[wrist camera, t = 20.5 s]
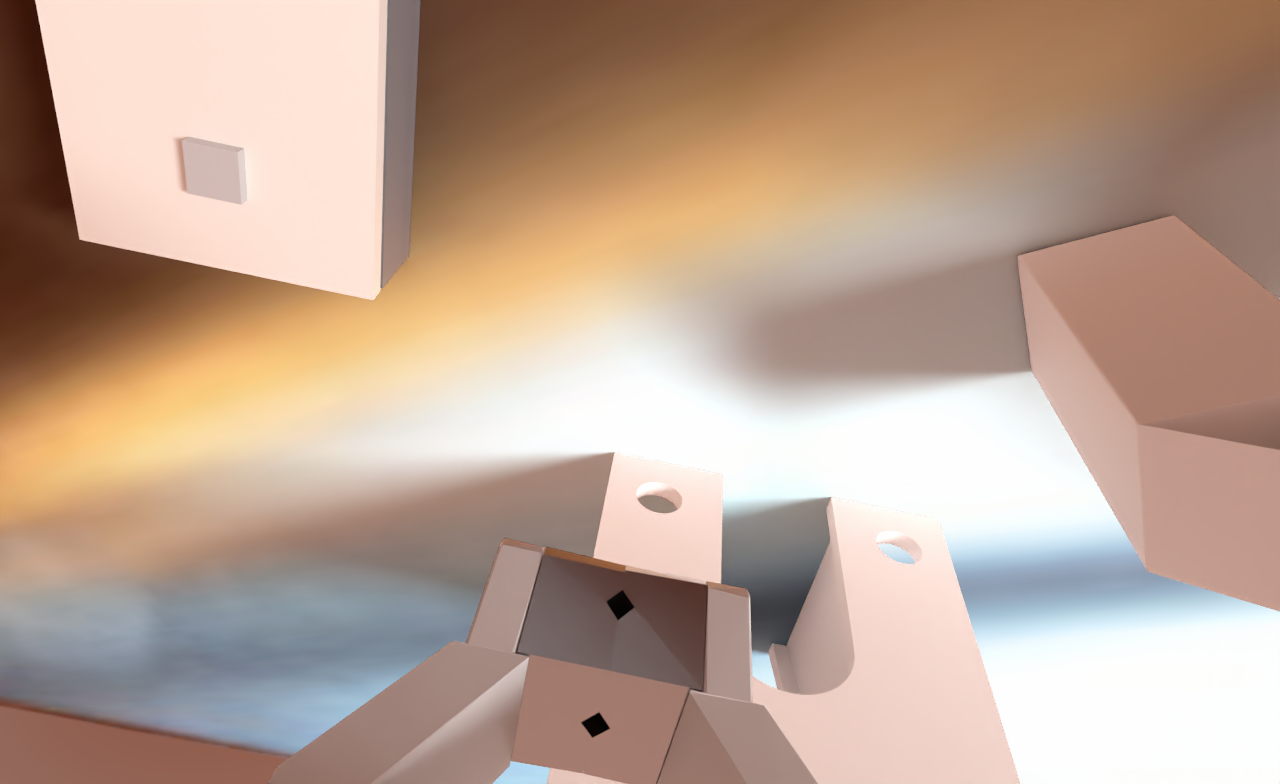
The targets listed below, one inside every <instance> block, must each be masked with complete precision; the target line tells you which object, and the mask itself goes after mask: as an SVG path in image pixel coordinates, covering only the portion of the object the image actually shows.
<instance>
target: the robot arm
mask: <svg viewBox="0 0 1280 784" xmlns="http://www.w3.org/2000/svg"><path fill="white" fill-rule="evenodd" d="M510 761H514V762H520V763H526V764H532V765H537V766H543V767H549V768H554V769H560V770H566V771H571V772H577V773H583V774H587V775H591V776H595V777H600V778H604V779H608V780H613V781H617V782H621V783H625V784H818V783H817V782H816V780H815V779H814V777H813V776H812V774H811V773H810V771H809V770H808V768H807V767H806V765H805V764H804V762H803V761H802V759H801V758H800V756H799V755H798V753H797V752H796V750H795V749H794V747H793V746H792V744H791V743H790V742H789V740H788V739H787V737H786V736H785V734H784V733H783V731H782V730H781V728H780V727H779V725H778V724H777V722H776V721H775V719H774V718H773V716H772V715H771V713H770V712H769V710H768V709H767V707H766V706H764V705H760V704H756V703H753V691H752V651H751V611H750V595H749V593H748V591H747V589H745V588H739V587H734V586H729V585H724V584H719V583H714V582H709V581H706V582H704V581H703V580H698V579H693V578H688V577H683V576H678V575H673V574H668V573H663V572H658V571H653V570H648V569H643V568H638V567H633V566H628V565H621V564H617V563H613V562H609V561H605V560H600V559H596V558H592V557H588V556H583V555H579V554H575V553H571V552H566V551H562V550H558V549H554V548H549V547H546V549H545V547H541V546H537V545H532V544H528V543H524V542H520V541H516V540H512V539H508V538H504V540H503V541H502V543H501V544H500V546H499V548H498V551H497V553H496V556H495V559H494V562H493V565H492V568H491V571H490V574H489V577H488V579H487V582H486V585H485V588H484V591H483V594H482V597H481V600H480V603H479V605H478V608H477V611H476V614H475V617H474V620H473V623H472V626H471V629H470V631H469V634H468V637H467V640H466V643H462V642H456V641H452V642H450V643H449V644H448V645H446V646H445V647H444V648H442V649H441V650H439V651H438V652H437V653H435V654H434V655H432V656H431V657H430V658H428V659H427V660H425V661H424V662H423V663H421V664H420V665H418V666H417V667H416V668H414V669H413V670H411V671H410V672H409V673H407V674H406V675H404V676H403V677H402V678H400V679H399V680H397V681H396V682H395V683H393V684H392V685H391V686H389V687H388V688H386V689H385V690H384V691H382V692H381V693H379V694H378V695H377V696H375V697H374V698H372V699H371V700H370V701H368V702H367V703H365V704H364V705H363V706H361V707H360V708H358V709H357V710H356V711H354V712H353V713H351V714H350V715H349V716H347V717H346V718H345V719H343V720H342V721H340V722H339V723H338V724H336V725H335V726H333V727H332V728H331V729H329V730H328V731H326V732H325V733H324V734H322V735H321V736H319V737H318V738H317V739H315V740H314V741H312V742H311V743H310V744H308V745H307V746H305V747H304V748H303V749H301V750H300V751H298V752H297V753H296V754H294V755H293V756H292V757H290V758H289V759H287V760H286V761H285V762H283V763H282V764H280V765H279V766H278V767H276V769H275V771H274V773H273V775H272V777H271V779H270V781H269V783H268V784H492V783H493V782H494V781H495V780H496V779H497V778H498V777H499V776H500V775H501V774H502V773H503V772H504V771H505V770H506V769H507V768H508V767H509V766H510Z"/></svg>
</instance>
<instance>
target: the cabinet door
mask: <svg viewBox="0 0 1280 784" xmlns="http://www.w3.org/2000/svg"><path fill="white" fill-rule="evenodd" d="M35 2H36V7H37V12H38V18H39V23H40V29H41V34H42V39H43V45H44V50H45V55H46V61H47V66H48V72H49V77H50V82H51V88H52V93H53V99H54V104H55V109H56V115H57V120H58V125H59V131H60V136H61V142H62V147H63V152H64V158H65V163H66V168H67V174H68V179H69V185H70V190H71V195H72V201H73V206H74V212H75V217H76V222H77V228H78V233H79V238H80V240H84V241H89V242H94V243H99V244H103V245H108V246H113V247H118V248H123V249H128V250H132V251H137V252H142V253H147V254H152V255H157V256H162V257H166V258H171V259H176V260H181V261H186V262H191V263H195V264H200V265H205V266H210V267H215V268H220V269H225V270H229V271H234V272H239V273H244V274H249V275H254V276H258V277H263V278H268V279H273V280H278V281H283V282H287V283H292V284H297V285H302V286H307V287H312V288H317V289H321V290H326V291H331V292H336V293H341V294H346V295H350V296H355V297H360V298H365V299H370V300H374V299H375V297H376V296H377V295H378V293H379V292H380V281H381V242H382V202H383V163H384V124H385V84H386V45H387V6H388V0H35Z"/></svg>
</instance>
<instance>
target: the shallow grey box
mask: <svg viewBox="0 0 1280 784" xmlns="http://www.w3.org/2000/svg"><path fill="white" fill-rule="evenodd" d="M419 21H420V0H388V6H387V45H386V84H385V124H384V163H383V202H382V242H381V281H380V288H383V287H384V286H385V285H386V283H387V282H388V281H389V280H390V279H391V277H392V276H393V275H394V274H395V273H396V271H397V270H398V269H399V268H400V266H401V265H402V264H403V263H404V262H405V260H406V259H407V258H408V257H409V243H410V221H411V199H412V177H413V154H414V132H415V110H416V88H417V66H418V43H419Z"/></svg>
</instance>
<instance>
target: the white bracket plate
mask: <svg viewBox="0 0 1280 784" xmlns="http://www.w3.org/2000/svg"><path fill="white" fill-rule="evenodd" d="M646 495H656V496H660V497H664V498H666V499H668V500H669V501H671V502H672V503H673V504H674V505H675V506H676V507H677V510H676V511H675V512H671V513H657V512H653V511H651V510H649V509H647V508H645V507H644V506H643V505H641V503H640V502H639V501H638V498H640V497H642V496H646ZM722 510H723V474H719V473H714V472H709V471H704V470H700V469H695V468H690V467H685V466H680V465H675V464H671V463H666V462H661V461H656V460H651V459H647V458H642V457H637V456H632V455H627V454H622V453H618V452H614V457H613V462H612V467H611V472H610V477H609V481H608V486H607V491H606V496H605V501H604V506H603V511H602V516H601V521H600V526H599V531H598V535H597V540H596V545H595V550H594V555H593V558H596V559H600V560H605V561H609V562H613V563H617V564H621V565H628V566H633V567H638V568H643V569H648V570H653V571H658V572H663V573H668V574H673V575H678V576H683V577H688V578H693V579H698V580H703V581H704V582H706V581H709V582H714V583H719V584H721V561H722ZM826 511H827V518H828V525H829V533H830V540H831V541H830V543H829V545H828V548H827V550H826V552H825V555H824V557H823V560H822V562H821V564H820V567H819V569H818V572H817V574H816V576H815V579H814V581H813V583H812V586H811V588H810V591H809V593H808V595H807V598H806V600H805V602H804V605H803V607H802V610H801V612H800V614H799V617H798V619H797V622H796V624H795V626H794V629H793V631H792V633H791V636H790V638H789V641H788V643H787V645H786V646H785V645H780V644H775V643H772V645H771V647H770V649H769V652H768V653H769V657H770V661H771V665H772V669H773V673H774V677H775V681H776V685H777V689H775V688H773V687H771V686H768V685H766V684H764V683H763V682H761V681H759V680H758V679H756V678H755V677H753V676H752V691H753V703H756V704H760V705H764V706H766V707H767V709H768V710H769V712H770V713H771V715H772V716H773V718H774V719H775V721H776V722H777V724H778V725H779V727H780V728H781V730H782V731H783V733H784V734H785V736H786V737H787V739H788V740H789V742H790V743H791V744H792V746H793V747H794V749H795V750H796V752H797V753H798V755H799V756H800V758H801V759H802V761H803V762H804V764H805V765H806V767H807V768H808V770H809V771H810V773H811V774H812V776H813V777H814V779H815V780H816V782H817V783H818V784H1020V781H1019V778H1018V775H1017V771H1016V768H1015V765H1014V762H1013V758H1012V755H1011V752H1010V749H1009V745H1008V742H1007V739H1006V736H1005V733H1004V729H1003V726H1002V723H1001V720H1000V716H999V713H998V710H997V707H996V703H995V700H994V697H993V694H992V690H991V687H990V684H989V681H988V677H987V674H986V671H985V668H984V664H983V661H982V658H981V655H980V651H979V648H978V645H977V642H976V638H975V635H974V632H973V629H972V625H971V622H970V619H969V616H968V612H967V609H966V606H965V603H964V599H963V596H962V593H961V590H960V586H959V583H958V580H957V577H956V574H955V570H954V567H953V564H952V561H951V557H950V554H949V551H948V548H947V544H946V541H945V538H944V535H943V531H942V528H941V525H940V522H939V519H935V518H931V517H926V516H921V515H916V514H911V513H907V512H902V511H897V510H892V509H887V508H883V507H878V506H873V505H868V504H863V503H858V502H854V501H849V500H844V499H839V498H834V497H831V499H830V501H829V504H828V506H827V509H826ZM880 543H888V544H893V545H896V546H898V547H900V548H902V549H904V550H905V551H907V552H908V553H909V554H910V555H911V556H912V558H913V559H914V561H915V564H904V563H900V562H897V561H895V560H893V559H891V558H889V557H888V556H886V555H885V554H884V553H883V552H882V551H881V550H880V548H879V547H878V544H880ZM547 784H625V783H621V782H617V781H613V780H608V779H604V778H600V777H595V776H591V775H587V774H583V773H577V772H571V771H566V770H560V769H554V768H550V771H549V776H548V781H547Z"/></svg>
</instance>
